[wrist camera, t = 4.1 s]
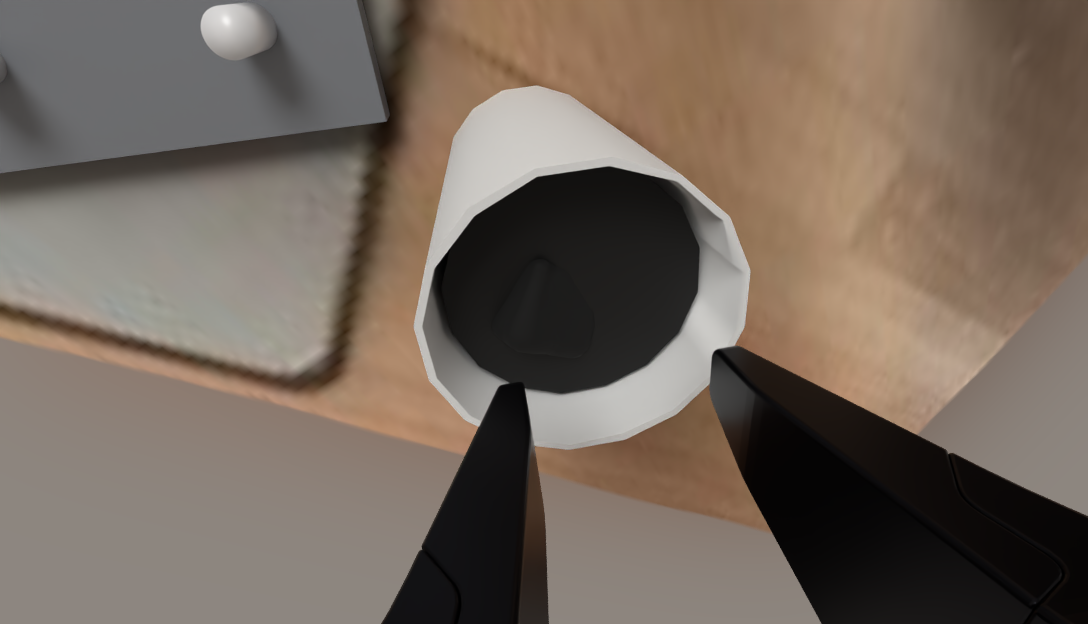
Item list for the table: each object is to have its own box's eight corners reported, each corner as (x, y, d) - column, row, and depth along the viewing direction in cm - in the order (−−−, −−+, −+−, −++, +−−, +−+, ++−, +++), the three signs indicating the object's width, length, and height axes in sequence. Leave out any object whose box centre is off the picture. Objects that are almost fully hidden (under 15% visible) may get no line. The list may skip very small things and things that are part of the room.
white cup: (567, 283, 22) (637, 477, 13) (405, 217, 19) (364, 402, 11) (658, 127, 19) (819, 247, 11) (482, 30, 17) (506, 83, 8)
